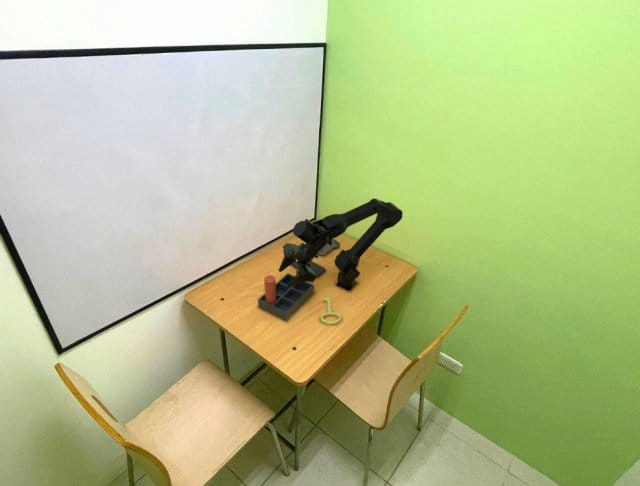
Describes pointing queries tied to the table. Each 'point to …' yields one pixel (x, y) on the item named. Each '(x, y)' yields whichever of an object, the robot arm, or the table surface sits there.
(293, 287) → the grid
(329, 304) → the key
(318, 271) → the phone
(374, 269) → the table surface
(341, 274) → the robot arm
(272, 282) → the reddish brown cylinder
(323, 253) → the stone
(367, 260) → the table surface
